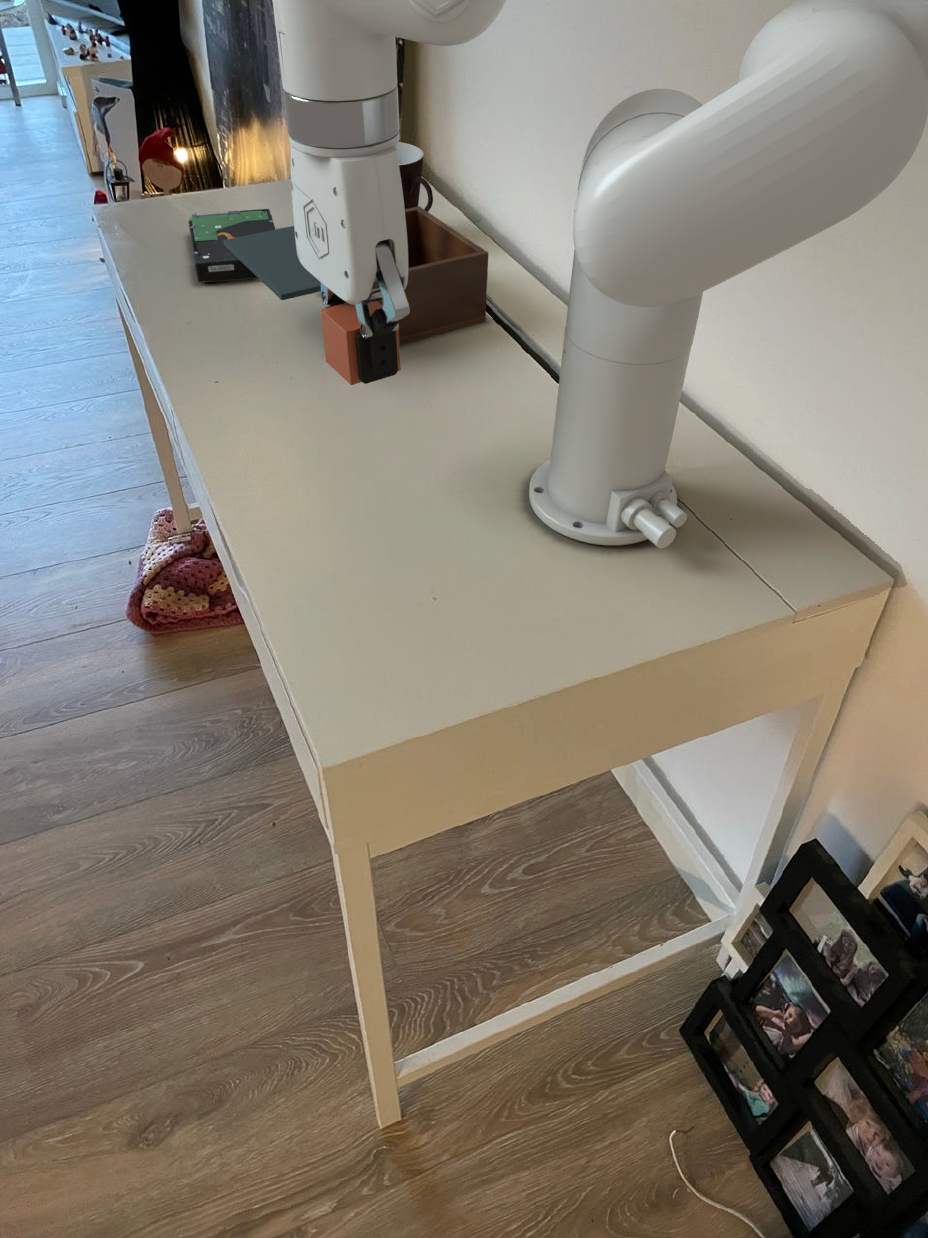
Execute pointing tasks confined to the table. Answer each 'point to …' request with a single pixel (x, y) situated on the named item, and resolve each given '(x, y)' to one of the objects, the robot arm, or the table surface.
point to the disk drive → (209, 242)
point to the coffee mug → (412, 175)
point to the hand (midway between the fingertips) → (363, 361)
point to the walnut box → (441, 279)
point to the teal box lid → (275, 262)
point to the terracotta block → (345, 339)
